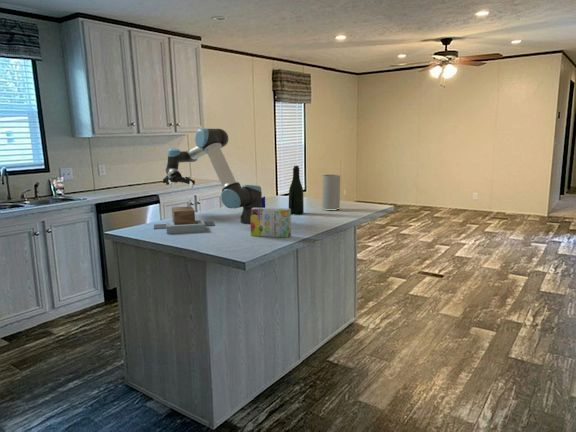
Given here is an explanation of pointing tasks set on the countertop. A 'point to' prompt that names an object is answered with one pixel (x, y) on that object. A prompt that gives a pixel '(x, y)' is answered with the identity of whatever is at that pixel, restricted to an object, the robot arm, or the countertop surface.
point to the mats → (163, 226)
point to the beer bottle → (296, 193)
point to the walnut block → (183, 215)
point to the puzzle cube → (263, 201)
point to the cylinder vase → (331, 192)
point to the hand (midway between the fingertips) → (181, 185)
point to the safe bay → (185, 228)
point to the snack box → (271, 222)
